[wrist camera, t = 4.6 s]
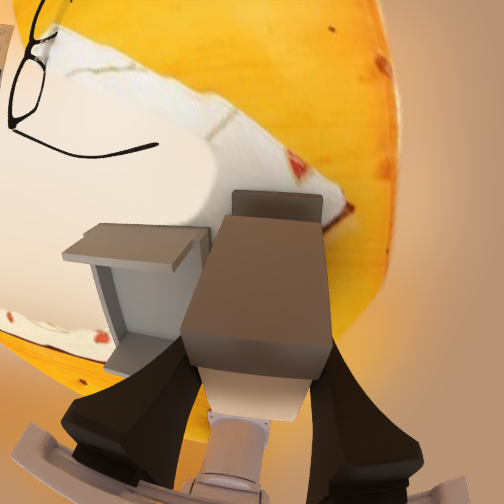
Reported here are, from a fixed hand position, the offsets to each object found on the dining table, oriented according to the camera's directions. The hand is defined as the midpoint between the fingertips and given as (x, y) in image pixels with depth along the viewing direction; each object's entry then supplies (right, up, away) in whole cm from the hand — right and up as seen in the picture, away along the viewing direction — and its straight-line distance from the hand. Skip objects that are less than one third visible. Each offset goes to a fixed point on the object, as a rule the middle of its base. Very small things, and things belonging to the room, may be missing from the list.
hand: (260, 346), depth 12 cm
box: (+1, +3, +4) cm, 5 cm away
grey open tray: (-9, +1, +12) cm, 15 cm away
